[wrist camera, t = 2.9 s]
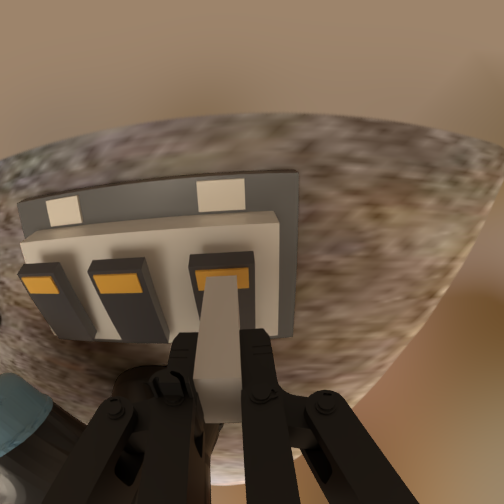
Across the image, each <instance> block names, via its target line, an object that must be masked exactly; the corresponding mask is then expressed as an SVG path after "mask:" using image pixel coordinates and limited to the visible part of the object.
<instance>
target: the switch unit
mask: <svg viewBox="0 0 504 504" xmlns="http://www.w3.org/2000/svg"><path fill="white" fill-rule="evenodd" d="M298 202H299V173H298V172H297V171H296V170H267V171H241V172H222V173H207V174H194V175H182V176H171V177H161V178H152V179H143V180H135V181H127V182H119V183H112V184H105V185H99V186H92V187H86V188H80V189H74V190H69V191H63V192H58V193H52V194H47V195H42V196H38V197H33V198H28V199H25V200H23V201H21V202H19V203H17V207H18V211H19V216H20V220H21V225H22V229H23V233H24V237H25V240H23V241H22V242H21V243H20V246H21V249H22V253H23V256H24V259H25V262H26V264H32V263H49V262H60V264H61V266H62V268H63V270H64V272H65V274H66V276H67V278H68V280H69V282H70V284H71V286H72V288H73V289H74V291H75V293H76V295H77V297H78V299H79V301H80V302H81V304H82V306H83V308H84V309H85V311H86V313H87V315H88V316H89V318H90V320H91V321H92V323H93V325H94V326H95V328H96V330H97V333H96V336H95V339H94V341H100V342H123V341H122V339H121V337H120V335H119V334H118V332H117V330H116V328H115V327H114V325H113V323H112V321H111V319H110V317H109V315H108V314H107V312H106V310H105V308H104V306H103V304H102V302H101V300H100V298H99V296H98V294H97V292H96V290H95V288H94V286H93V284H92V281H91V279H90V277H89V275H88V273H87V271H88V268H89V266H90V264H91V262H92V260H101V259H118V258H135V257H145V259H146V262H147V265H148V268H149V272H150V275H151V278H152V281H153V284H154V287H155V290H156V293H157V296H158V299H159V302H160V305H161V308H162V311H163V314H164V317H165V319H166V322H167V325H168V328H169V330H170V336H169V343H172V342H173V340H174V338H175V337H176V336H177V335H178V334H179V332H199V325H200V320H199V315H198V311H197V307H196V302H195V298H194V293H193V288H192V284H191V279H190V274H189V269H188V264H189V257H190V254H206V253H223V252H241V251H253V252H254V260H255V329H258V328H263V329H264V330H265V331H266V332H267V333H268V335H269V336H270V339H275V338H286V337H293V326H294V309H295V291H296V270H297V243H298ZM50 328H51V327H50ZM51 330H52V332H53V334H54V336H57V335H56V334H55V332H54V331H53V329H52V328H51ZM123 343H124V342H123Z"/></svg>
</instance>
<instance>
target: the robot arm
mask: <svg viewBox="0 0 504 504" xmlns="http://www.w3.org/2000/svg"><path fill="white" fill-rule="evenodd" d="M239 422H242V432H243V450H244V468H245V484H246V500H247V504H301V503H300V497H299V491H298V485H297V479H296V474H295V468H294V462H293V456H292V450H291V447H294V448H300V450H301V452H302V454H303V456H304V458H305V460H306V462H307V464H308V465H309V467H310V469H311V471H312V473H313V474H314V477H315V478H316V480H317V482H318V484H319V486H320V488H321V489H322V491H323V493H324V495H325V497H326V498H327V500H328V502H329V504H419V503H418V501H417V500H416V499H415V497H414V496H413V494H412V493H411V492H410V490H409V489H408V488H407V486H406V485H405V483H404V482H403V481H402V479H401V478H400V476H399V475H398V474H397V472H396V471H395V469H394V468H393V467H392V465H391V464H390V462H389V461H388V460H387V458H386V457H385V456H384V454H383V453H382V451H381V450H380V449H379V447H378V446H377V445H376V443H375V442H374V440H373V439H372V438H371V436H370V435H369V433H368V432H367V430H366V429H365V428H364V426H363V425H362V423H361V422H360V421H359V419H358V418H357V416H356V415H355V414H354V412H353V411H352V409H351V408H350V406H349V405H348V404H347V402H346V401H345V399H344V398H343V397H342V396H341V395H340V394H339V393H336V392H334V391H330V390H321V391H317V392H315V393H313V394H311V395H310V396H309V397H302V396H296V395H292V394H289V393H287V392H285V391H284V390H283V389H282V388H281V387H280V386H279V384H278V381H277V376H276V370H275V365H274V359H273V354H272V347H271V342H270V336H269V335H268V333H267V332H266V331H265V330H264V329H263V328H258V329H242V330H240V319H239V304H238V289H237V275H232V276H212V277H206V282H205V289H204V296H203V303H202V310H201V317H200V325H199V332H179V334H178V335H177V336H176V337H175V338H174V340H173V342H172V347H171V351H170V356H169V360H168V365H167V367H162V366H143V367H137V368H133V369H130V370H128V371H126V372H124V373H123V374H121V375H120V376H119V377H118V379H117V380H116V382H115V385H114V388H113V391H112V395H111V397H110V398H108V399H106V400H104V402H103V403H102V404H101V405H100V406H99V408H98V409H97V411H96V412H95V414H94V416H93V417H92V419H91V420H90V422H89V423H88V425H85V424H84V423H82V422H81V421H79V420H78V419H76V418H75V417H73V416H72V415H71V414H69V413H68V412H66V411H65V410H64V409H62V408H61V407H59V406H58V405H57V404H55V403H54V402H53V400H52V398H51V397H49V396H48V395H46V394H42V393H41V392H39V391H38V390H37V389H35V388H34V387H33V386H31V385H30V384H29V383H28V382H26V381H25V380H24V379H23V378H21V377H20V376H18V375H16V374H14V373H3V374H1V375H0V504H211V480H210V458H211V454H212V451H213V449H214V446H215V444H216V442H217V439H218V436H219V432H220V431H221V429H222V427H223V424H224V423H239Z"/></svg>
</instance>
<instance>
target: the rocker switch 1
mask: <svg viewBox="0 0 504 504" xmlns="http://www.w3.org/2000/svg"><path fill="white" fill-rule="evenodd" d="M17 275H18V276H19V278H20V280H21V282H22V283H23V285H24V287H25V288H26V290H27V292H28V293H29V295H30V297H31V298H32V300H33V301H34V303H35V304H36V306H37V308H38V309H39V311H40V312H41V314H42V315H43V317H44V318H45V319H46V321H47V322H48V324H49V325H50V327H51V328H52V329H53V331H54V332H55V334H56V335H57V336H58V338H59V339H68V340H81V341H94V339H95V336H96V333H97V330H96V328H95V326H94V325H93V323H92V321H91V320H90V318H89V316H88V315H87V313H86V311H85V309H84V308H83V306H82V304H81V302H80V301H79V299H78V297H77V295H76V293H75V291H74V289H73V288H72V286H71V284H70V282H69V280H68V278H67V276H66V274H65V272H64V270H63V268H62V266H61V264H60V262H49V263H32V264H23V266H22V267H21V269H20V271H19V272H18V274H17Z"/></svg>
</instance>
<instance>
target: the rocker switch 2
mask: <svg viewBox="0 0 504 504" xmlns="http://www.w3.org/2000/svg"><path fill="white" fill-rule="evenodd" d="M87 273H88V275H89V277H90V279H91V281H92V284H93V286H94V288H95V290H96V292H97V294H98V296H99V298H100V300H101V302H102V304H103V306H104V308H105V310H106V312H107V314H108V315H109V317H110V319H111V321H112V323H113V325H114V327H115V328H116V330H117V332H118V334H119V335H120V337H121V339H122V341H123V342H124V343H169V336H170V330H169V328H168V325H167V322H166V319H165V317H164V314H163V311H162V308H161V305H160V302H159V299H158V296H157V293H156V290H155V287H154V284H153V281H152V278H151V275H150V272H149V268H148V265H147V262H146V259H145V257H135V258H118V259H101V260H92V262H91V264H90V266H89V268H88V271H87Z"/></svg>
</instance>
